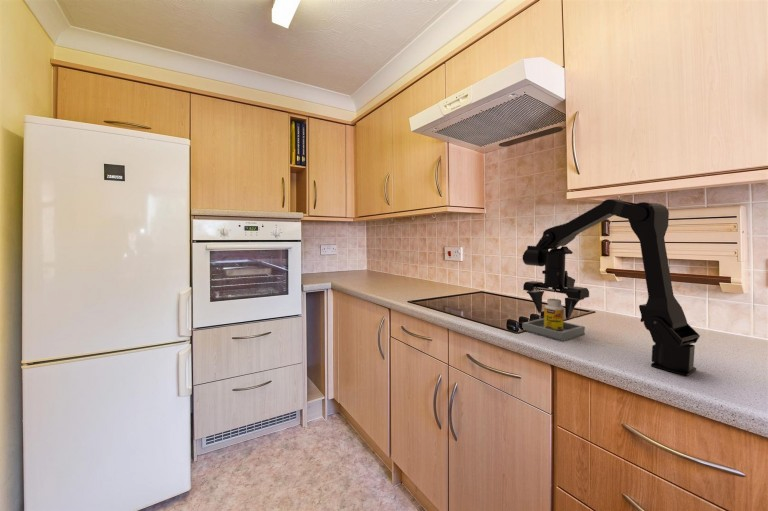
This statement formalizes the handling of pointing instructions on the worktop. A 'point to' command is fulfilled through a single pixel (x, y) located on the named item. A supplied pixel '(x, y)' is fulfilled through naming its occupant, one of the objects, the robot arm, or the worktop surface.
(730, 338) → the worktop surface
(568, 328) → the tray
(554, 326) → the supplement bottle
